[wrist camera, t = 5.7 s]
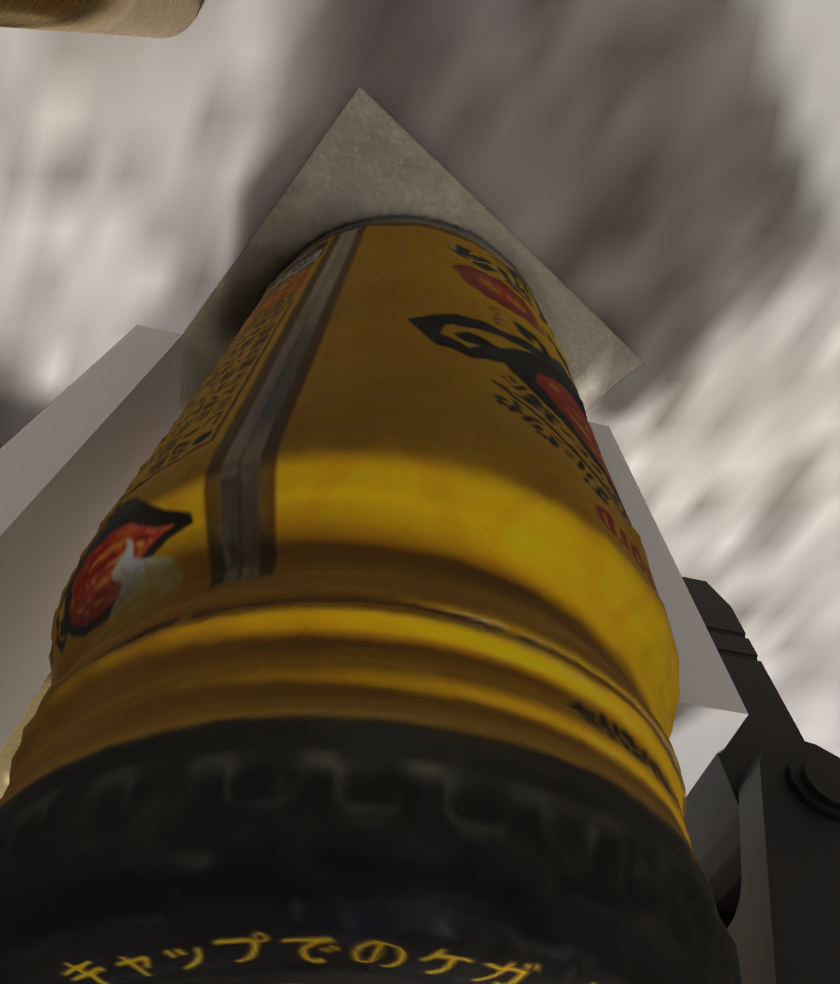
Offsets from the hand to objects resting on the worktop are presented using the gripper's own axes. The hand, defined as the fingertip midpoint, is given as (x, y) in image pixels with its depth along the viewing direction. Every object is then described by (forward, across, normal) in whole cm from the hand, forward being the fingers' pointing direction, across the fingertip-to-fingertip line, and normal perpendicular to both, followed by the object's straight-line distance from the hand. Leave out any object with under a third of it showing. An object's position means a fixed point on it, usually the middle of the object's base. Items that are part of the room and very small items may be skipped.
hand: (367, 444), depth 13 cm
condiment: (+2, 0, 0) cm, 2 cm away
